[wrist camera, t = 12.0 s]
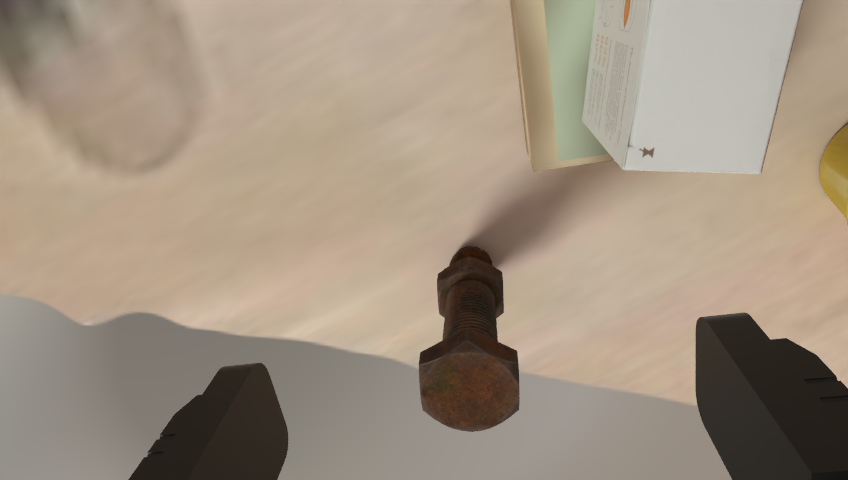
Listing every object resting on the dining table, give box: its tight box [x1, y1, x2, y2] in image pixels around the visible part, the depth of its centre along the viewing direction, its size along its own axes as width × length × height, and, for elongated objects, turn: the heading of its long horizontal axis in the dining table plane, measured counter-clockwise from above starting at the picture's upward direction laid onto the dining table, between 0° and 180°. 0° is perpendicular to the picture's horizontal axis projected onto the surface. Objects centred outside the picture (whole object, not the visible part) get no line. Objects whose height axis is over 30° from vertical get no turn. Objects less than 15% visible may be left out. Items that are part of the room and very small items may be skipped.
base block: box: [510, 0, 614, 172], centre depth 34 cm, size 12×12×5 cm
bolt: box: [419, 247, 519, 432], centre depth 36 cm, size 6×5×15 cm
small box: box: [582, 0, 804, 174], centre depth 27 cm, size 8×6×10 cm
